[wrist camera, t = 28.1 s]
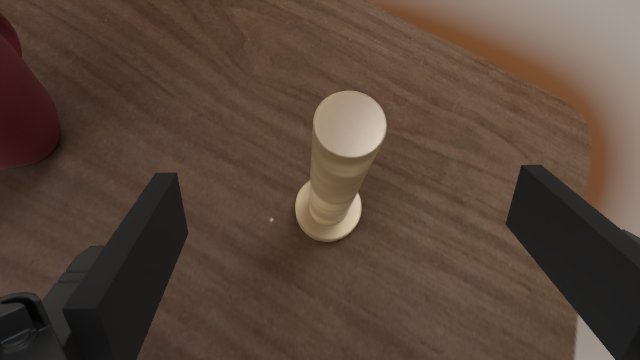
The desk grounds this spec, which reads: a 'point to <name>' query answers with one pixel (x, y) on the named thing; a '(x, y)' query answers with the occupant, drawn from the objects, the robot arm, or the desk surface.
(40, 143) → the mug
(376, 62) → the desk surface
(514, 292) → the desk surface
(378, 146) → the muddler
